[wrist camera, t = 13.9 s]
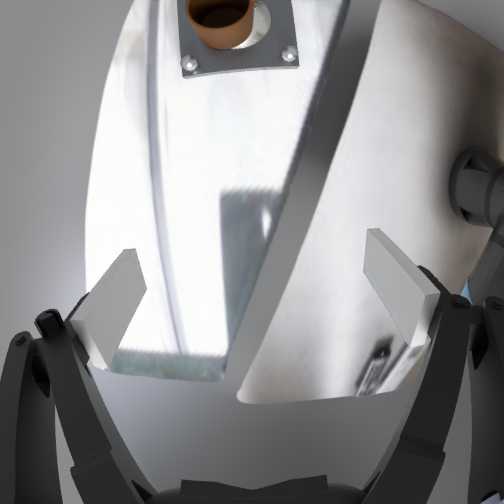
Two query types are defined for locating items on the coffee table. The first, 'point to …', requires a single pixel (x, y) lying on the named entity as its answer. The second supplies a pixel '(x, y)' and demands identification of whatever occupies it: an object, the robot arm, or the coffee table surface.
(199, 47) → the chassis
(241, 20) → the mug
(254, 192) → the coffee table surface
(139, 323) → the coffee table surface
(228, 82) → the coffee table surface
